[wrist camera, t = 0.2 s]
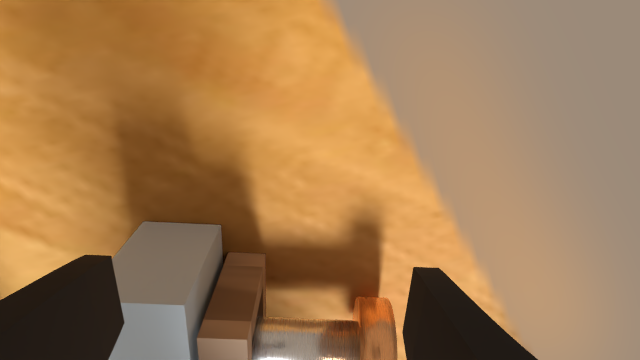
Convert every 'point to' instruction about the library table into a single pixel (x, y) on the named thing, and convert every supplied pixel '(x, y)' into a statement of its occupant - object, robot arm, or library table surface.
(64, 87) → the library table surface
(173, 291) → the bearing block
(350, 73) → the library table surface
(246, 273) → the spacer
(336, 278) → the library table surface
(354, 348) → the shaft
